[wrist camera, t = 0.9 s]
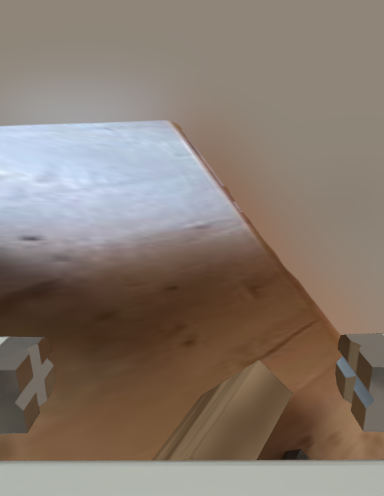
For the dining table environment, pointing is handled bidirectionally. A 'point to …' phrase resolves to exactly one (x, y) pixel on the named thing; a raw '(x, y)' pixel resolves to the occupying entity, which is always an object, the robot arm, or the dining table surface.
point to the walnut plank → (230, 419)
